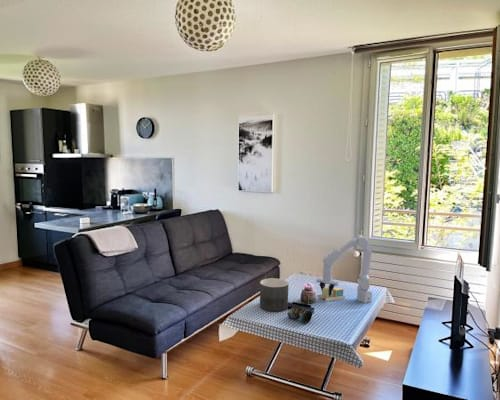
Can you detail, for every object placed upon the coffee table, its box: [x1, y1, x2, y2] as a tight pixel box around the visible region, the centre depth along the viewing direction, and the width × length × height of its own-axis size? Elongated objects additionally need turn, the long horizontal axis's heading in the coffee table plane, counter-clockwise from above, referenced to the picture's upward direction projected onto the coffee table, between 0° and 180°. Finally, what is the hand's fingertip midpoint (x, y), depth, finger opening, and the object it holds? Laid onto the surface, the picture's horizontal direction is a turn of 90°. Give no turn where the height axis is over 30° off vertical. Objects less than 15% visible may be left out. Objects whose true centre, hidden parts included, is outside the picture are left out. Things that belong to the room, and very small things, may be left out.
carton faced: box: [332, 287, 344, 297], centre depth 257 cm, size 6×4×6 cm, turn 114°
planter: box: [259, 277, 289, 313], centre depth 242 cm, size 18×18×16 cm
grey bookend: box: [316, 293, 346, 302], centre depth 259 cm, size 12×15×3 cm
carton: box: [321, 285, 331, 298], centre depth 255 cm, size 6×4×6 cm, turn 147°
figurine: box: [287, 307, 313, 325], centre depth 222 cm, size 9×8×15 cm
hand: (326, 294), depth 255 cm, fingers closed on carton, 4 cm apart
